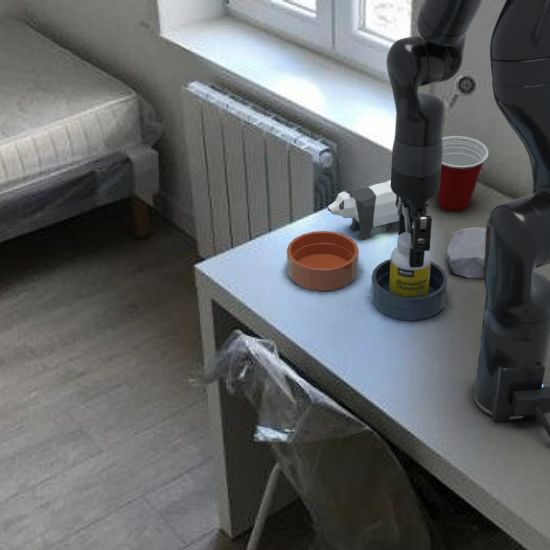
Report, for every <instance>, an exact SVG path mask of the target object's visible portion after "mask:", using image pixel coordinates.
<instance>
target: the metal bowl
mask: <svg viewBox="0 0 550 550" xmlns="http://www.w3.org/2000/svg"><path fill="white" fill-rule="evenodd" d="M390 263H391V258H388V259H386V260H384V261H382V262H381V263H379V264H377V265H376V266H375V267H374V269H373V270H372V274H371V287H370V298H371V302H372V304H373V305H374V307H375V308H376V309H377V310H378V311H379V312H380V313H382V314H384V315H385V316H387V317H390V318H392V319H396V320H400V321H401V320H402V321H420V320H425V319H429V318H431V317H434V316H435V315H436V314H438V313H440V312H441V311H442V310H443V308H444V307H445V306H446V299H447V290H448V289H447V288H448V278H449V277H448V275H447V272H446V271H445V270H444V269H443V268H442V267H441V266H440V265H439V264H437V263H436V262H433V261H432V260H431V267H430V278H429V289H428V295H426V296H421V297H404V296H398V295H395V294H392V293H389V281H390Z"/></svg>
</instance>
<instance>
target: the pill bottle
mask: <svg viewBox="0 0 550 550" xmlns="http://www.w3.org/2000/svg"><path fill="white" fill-rule="evenodd" d="M418 240H422V239H418ZM396 242H397V243H396V247H395V248H394V249H393V250H392V251H391V254H390V259H391V263H390V281H389V293H392V294H395V295H398V296H404V297H421V296H426V295H428V289H429V278H430V267H431V261H432V255H431V253H430V250H429V251H425V252H424V264H423V266H422V267H414V268H411V267H410V265H409V252H410V246H409V244H410V240H409V234H407V233H406V232H404V233H402V234H400V235H398V236H397V240H396Z"/></svg>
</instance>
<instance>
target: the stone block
mask: <svg viewBox="0 0 550 550" xmlns="http://www.w3.org/2000/svg"><path fill="white" fill-rule="evenodd" d="M485 235H486V227H477V226H472V227H465V228H463V227H462V228H461V229H458V230H456V231H455V232H453V233H452V238H451V240H450V241H449V243H448V246H447V250H446V256H447V257H446V258H447V263H448V266H449V268H450V270H451V272H452V273H453V274H454V275H455V276H461V277H464V278H466V279H484V256H485Z"/></svg>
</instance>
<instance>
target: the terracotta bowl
mask: <svg viewBox="0 0 550 550" xmlns="http://www.w3.org/2000/svg"><path fill="white" fill-rule="evenodd" d="M359 255H360V250H359V247H358V244H357V243H356V242H355V241H354V239H352V238H351V237H349V236H347V235H346V234H343V233H340V232H336V231H329V230H319V231H318V230H317V231H310V232H307V233H306V232H305V233H303V234H301V235H298V236H296V237H294V238H293V239H292V240H291V241H290V243H288V246H287V248H286V268H287V269H286V270H287V275H288V277H289V278H290V280H291V282H293V283H295V284H296V285H298V286H300V287H302V288H304V289H307V290H311V291H318V292H329V291H335V290H339V289H341V288H344V287H347V286H348V285H349V284H351V283H353V281H354V280H355V279H356V278H357V276H358V273H359V259H360V258H359Z"/></svg>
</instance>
